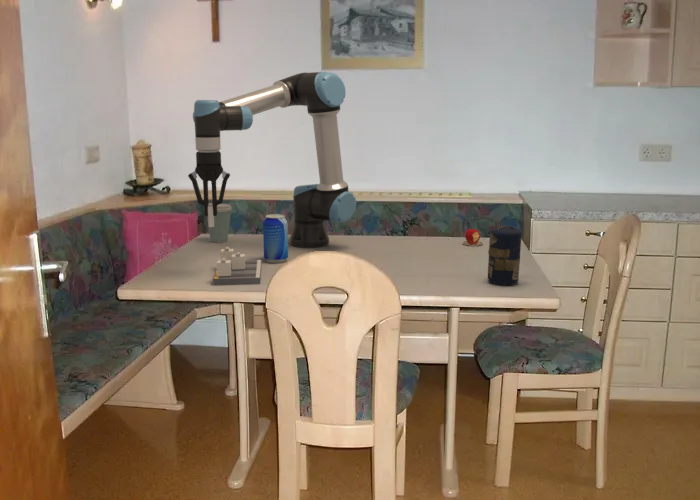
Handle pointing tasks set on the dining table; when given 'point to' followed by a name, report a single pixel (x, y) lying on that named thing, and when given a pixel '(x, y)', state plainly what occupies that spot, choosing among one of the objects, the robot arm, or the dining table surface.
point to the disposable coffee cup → (220, 224)
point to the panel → (236, 271)
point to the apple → (472, 238)
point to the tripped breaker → (238, 261)
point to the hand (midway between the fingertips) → (211, 226)
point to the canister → (504, 255)
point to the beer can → (275, 238)
